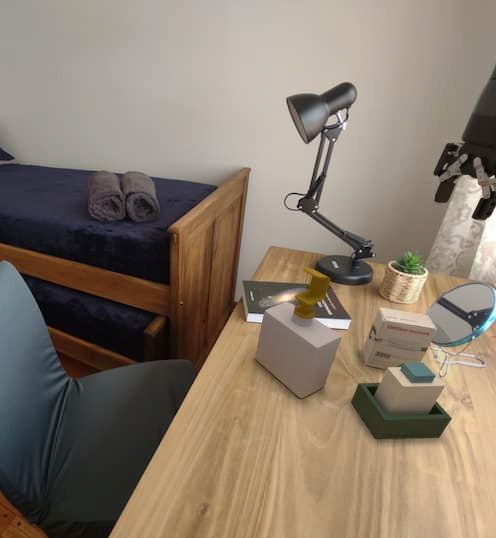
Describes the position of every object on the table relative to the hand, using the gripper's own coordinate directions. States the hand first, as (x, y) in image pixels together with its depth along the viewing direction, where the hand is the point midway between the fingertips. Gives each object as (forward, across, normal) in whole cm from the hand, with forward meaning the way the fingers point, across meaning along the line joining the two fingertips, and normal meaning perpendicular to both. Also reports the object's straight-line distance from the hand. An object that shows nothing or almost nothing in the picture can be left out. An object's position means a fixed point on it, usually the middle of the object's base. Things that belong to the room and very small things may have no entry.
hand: (458, 210), depth 64 cm
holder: (+30, -20, +14) cm, 39 cm away
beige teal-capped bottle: (+29, -20, +14) cm, 38 cm away
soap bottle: (+30, -9, +28) cm, 42 cm away
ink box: (+30, -7, +7) cm, 32 cm away
